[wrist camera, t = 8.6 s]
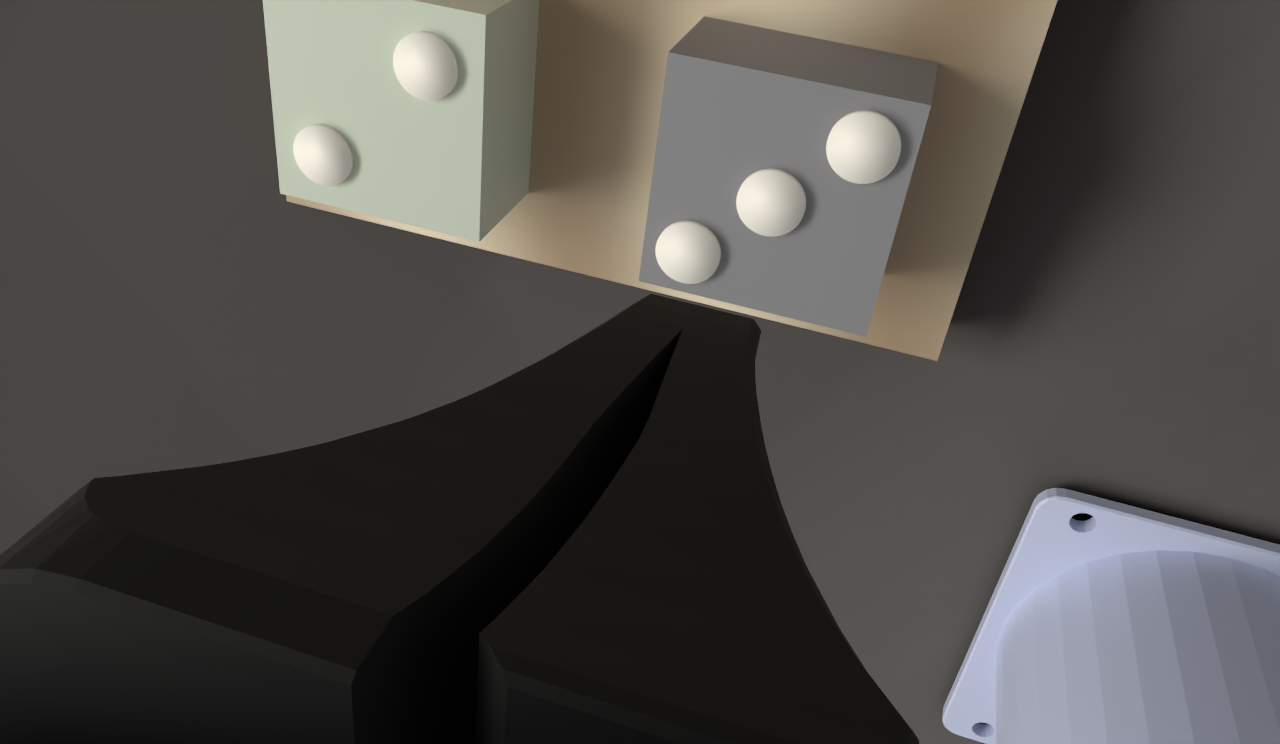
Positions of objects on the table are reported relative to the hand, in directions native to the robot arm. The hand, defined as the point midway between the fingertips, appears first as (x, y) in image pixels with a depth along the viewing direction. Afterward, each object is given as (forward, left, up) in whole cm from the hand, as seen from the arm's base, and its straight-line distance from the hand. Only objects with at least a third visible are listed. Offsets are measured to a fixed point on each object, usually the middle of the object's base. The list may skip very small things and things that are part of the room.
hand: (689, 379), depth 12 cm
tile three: (0, 0, -8) cm, 8 cm away
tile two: (+7, 0, -8) cm, 11 cm away
